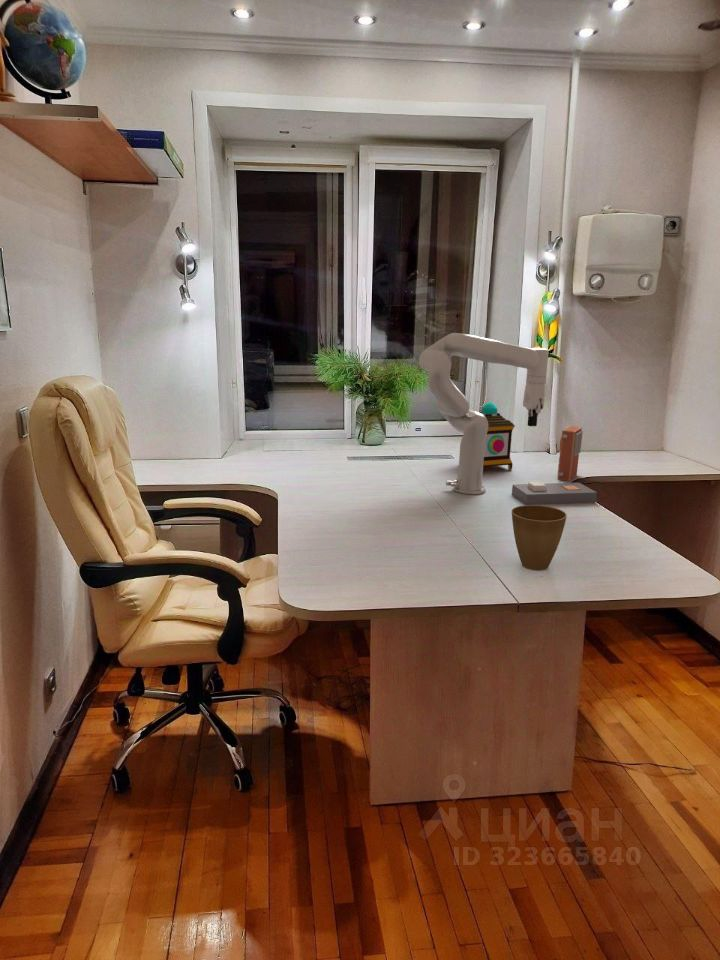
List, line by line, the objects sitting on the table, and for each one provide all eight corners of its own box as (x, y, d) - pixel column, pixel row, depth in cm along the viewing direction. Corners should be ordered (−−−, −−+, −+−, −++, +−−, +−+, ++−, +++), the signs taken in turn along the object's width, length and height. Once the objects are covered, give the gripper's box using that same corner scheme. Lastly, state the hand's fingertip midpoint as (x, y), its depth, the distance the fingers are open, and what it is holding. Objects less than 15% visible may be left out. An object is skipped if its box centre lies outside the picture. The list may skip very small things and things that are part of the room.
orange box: (554, 479, 281) (563, 472, 293) (571, 482, 277) (579, 474, 290) (559, 430, 275) (568, 425, 288) (576, 432, 272) (584, 426, 284)
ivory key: (533, 493, 248) (534, 485, 248) (527, 489, 253) (528, 482, 252) (545, 493, 249) (546, 485, 248) (540, 489, 254) (540, 481, 253)
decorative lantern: (516, 471, 294) (522, 404, 286) (478, 474, 287) (483, 406, 279) (492, 461, 312) (496, 398, 304) (455, 464, 305) (459, 399, 297)
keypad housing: (526, 504, 244) (527, 494, 243) (511, 494, 257) (512, 484, 256) (595, 502, 249) (597, 492, 248) (577, 492, 262) (579, 482, 261)
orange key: (567, 496, 251) (568, 489, 250) (561, 493, 256) (562, 485, 255) (579, 496, 252) (580, 489, 251) (573, 492, 257) (573, 485, 256)
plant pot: (551, 555, 195) (556, 504, 191) (568, 576, 180) (574, 520, 176) (501, 555, 194) (505, 504, 190) (514, 575, 180) (519, 520, 176)
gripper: (519, 377, 265) (515, 422, 270) (535, 382, 251) (530, 429, 255) (536, 377, 266) (533, 422, 271) (553, 382, 252) (548, 429, 257)
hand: (532, 425), depth 263 cm, fingers closed
